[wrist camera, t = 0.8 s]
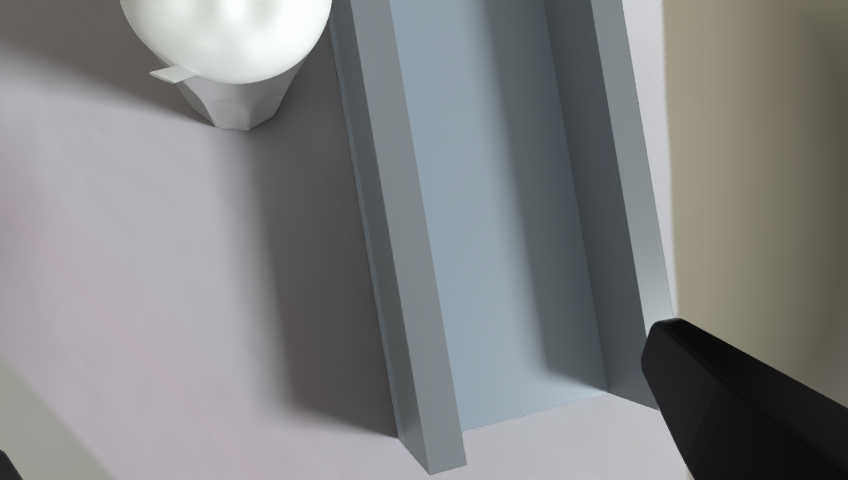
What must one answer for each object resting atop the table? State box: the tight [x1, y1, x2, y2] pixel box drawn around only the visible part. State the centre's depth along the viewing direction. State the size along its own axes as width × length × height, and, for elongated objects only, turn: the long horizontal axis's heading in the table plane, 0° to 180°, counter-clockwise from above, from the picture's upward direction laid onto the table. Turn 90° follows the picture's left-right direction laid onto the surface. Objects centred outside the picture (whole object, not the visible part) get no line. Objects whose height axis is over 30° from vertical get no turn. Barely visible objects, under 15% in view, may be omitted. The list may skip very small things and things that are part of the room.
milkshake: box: [119, 0, 332, 131], centre depth 16 cm, size 5×5×10 cm
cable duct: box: [328, 0, 674, 475], centre depth 21 cm, size 22×9×4 cm, turn 9°
